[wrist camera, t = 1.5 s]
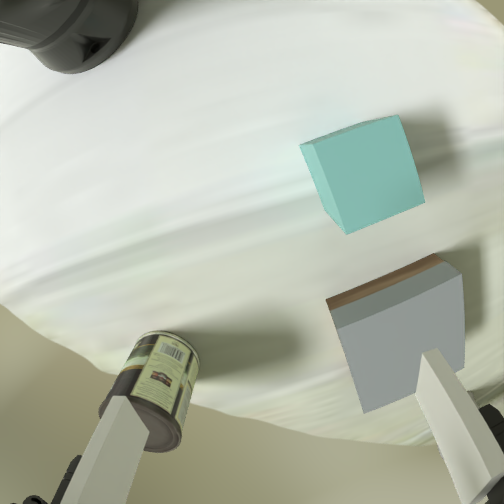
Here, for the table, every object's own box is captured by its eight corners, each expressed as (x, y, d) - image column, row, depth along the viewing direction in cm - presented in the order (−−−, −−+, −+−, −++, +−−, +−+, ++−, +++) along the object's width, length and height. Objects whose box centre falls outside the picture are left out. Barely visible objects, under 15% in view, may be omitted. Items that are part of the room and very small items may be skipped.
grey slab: (329, 310, 35) (336, 329, 31) (445, 260, 32) (461, 273, 28) (357, 394, 40) (363, 413, 36) (452, 352, 37) (464, 367, 33)
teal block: (298, 145, 32) (312, 144, 23) (362, 122, 31) (398, 114, 21) (324, 210, 34) (346, 234, 25) (385, 186, 33) (425, 202, 24)
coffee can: (140, 377, 44) (109, 442, 31) (130, 326, 41) (88, 391, 28) (201, 387, 44) (184, 459, 31) (199, 335, 41) (176, 410, 27)
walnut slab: (324, 297, 39) (330, 312, 35) (431, 251, 36) (445, 262, 32) (352, 378, 43) (358, 395, 40) (441, 338, 41) (452, 352, 37)
